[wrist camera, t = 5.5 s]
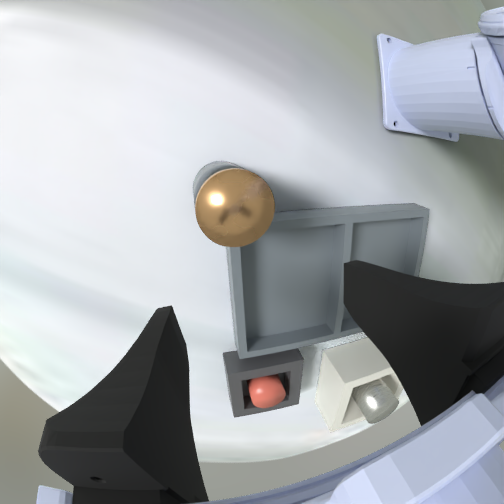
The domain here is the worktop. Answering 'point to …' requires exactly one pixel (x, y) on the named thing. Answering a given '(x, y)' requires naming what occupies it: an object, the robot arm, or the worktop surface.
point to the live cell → (232, 204)
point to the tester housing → (260, 366)
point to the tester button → (266, 391)
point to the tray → (315, 271)
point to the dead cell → (375, 400)
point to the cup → (350, 380)
